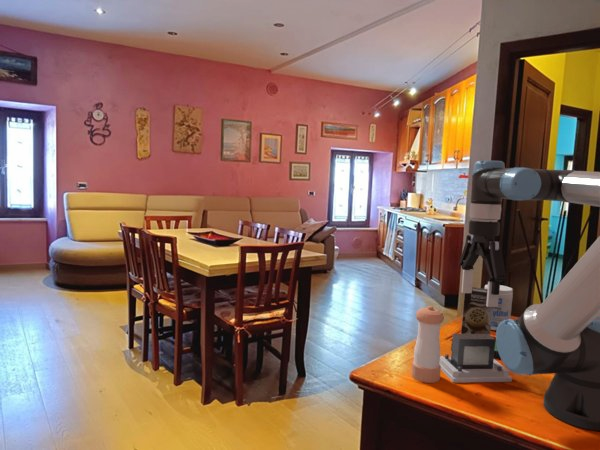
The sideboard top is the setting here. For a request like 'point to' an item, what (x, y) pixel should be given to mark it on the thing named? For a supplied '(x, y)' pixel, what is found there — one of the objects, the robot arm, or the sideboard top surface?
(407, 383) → the sideboard top surface
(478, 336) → the grey plastic case
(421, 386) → the sideboard top surface
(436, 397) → the sideboard top surface
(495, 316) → the supplement tub
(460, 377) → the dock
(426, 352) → the salt shaker
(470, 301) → the dark cardboard box
